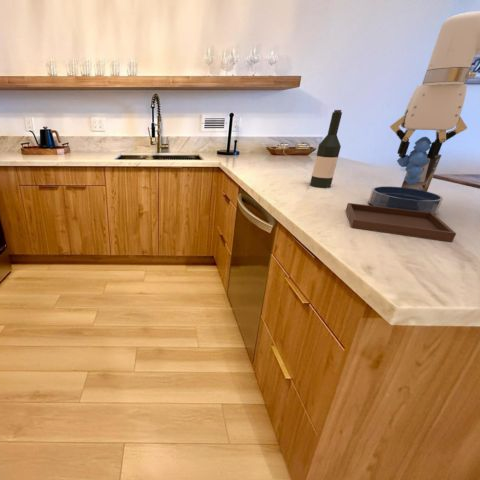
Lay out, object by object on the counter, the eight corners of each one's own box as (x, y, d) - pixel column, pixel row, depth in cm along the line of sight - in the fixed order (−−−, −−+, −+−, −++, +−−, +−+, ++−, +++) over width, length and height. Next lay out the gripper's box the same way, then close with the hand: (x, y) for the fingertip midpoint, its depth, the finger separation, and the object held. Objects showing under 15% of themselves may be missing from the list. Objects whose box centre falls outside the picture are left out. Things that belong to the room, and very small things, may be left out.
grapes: (392, 178, 84) (404, 135, 79) (422, 181, 80) (437, 135, 75) (388, 186, 76) (402, 138, 71) (422, 189, 72) (439, 138, 67)
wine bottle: (306, 185, 124) (322, 109, 112) (313, 182, 130) (329, 109, 117) (327, 189, 119) (346, 110, 106) (333, 185, 124) (353, 109, 112)
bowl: (426, 203, 100) (431, 189, 98) (445, 220, 86) (452, 204, 83) (364, 197, 108) (368, 184, 106) (372, 211, 93) (377, 196, 91)
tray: (429, 220, 86) (432, 212, 85) (452, 242, 71) (456, 233, 70) (345, 209, 94) (347, 202, 93) (351, 227, 80) (353, 219, 79)
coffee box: (418, 204, 100) (436, 156, 93) (395, 200, 105) (412, 154, 98) (424, 199, 105) (442, 154, 98) (403, 195, 110) (419, 152, 103)
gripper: (485, 78, 67) (452, 158, 75) (395, 81, 74) (374, 153, 82) (502, 75, 61) (464, 162, 68) (403, 78, 68) (378, 157, 75)
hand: (415, 157), depth 75 cm, fingers closed on grapes, 5 cm apart
